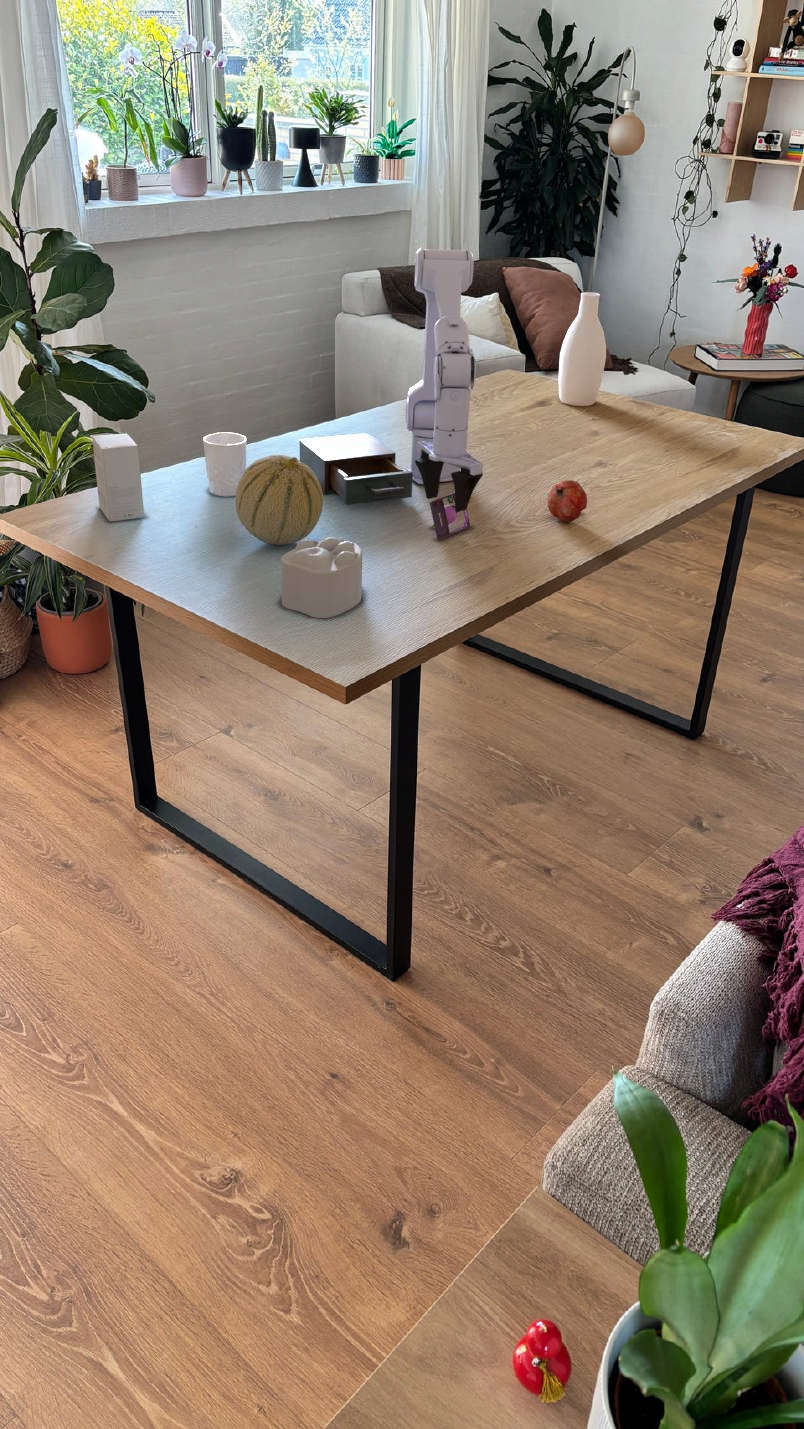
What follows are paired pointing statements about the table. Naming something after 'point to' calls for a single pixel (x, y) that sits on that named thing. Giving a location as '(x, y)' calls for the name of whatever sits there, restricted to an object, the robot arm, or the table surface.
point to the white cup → (224, 462)
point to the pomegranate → (567, 500)
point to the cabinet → (340, 453)
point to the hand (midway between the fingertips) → (446, 503)
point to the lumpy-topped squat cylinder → (322, 577)
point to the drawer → (370, 481)
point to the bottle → (583, 355)
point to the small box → (118, 476)
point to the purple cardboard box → (446, 516)
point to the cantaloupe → (279, 499)
